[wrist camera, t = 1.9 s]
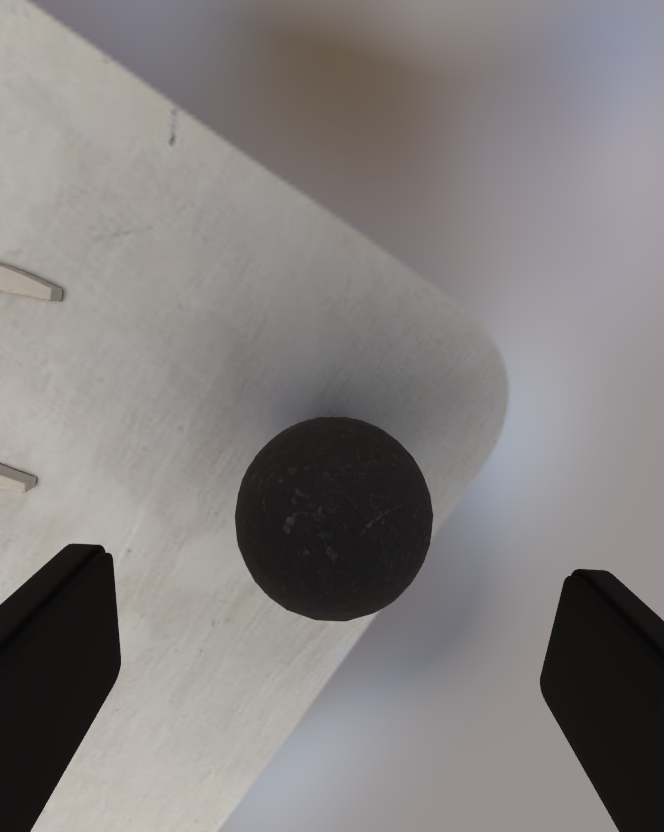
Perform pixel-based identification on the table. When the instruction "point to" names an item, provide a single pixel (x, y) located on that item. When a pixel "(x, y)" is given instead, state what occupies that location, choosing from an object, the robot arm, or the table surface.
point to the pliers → (33, 286)
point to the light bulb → (333, 518)
